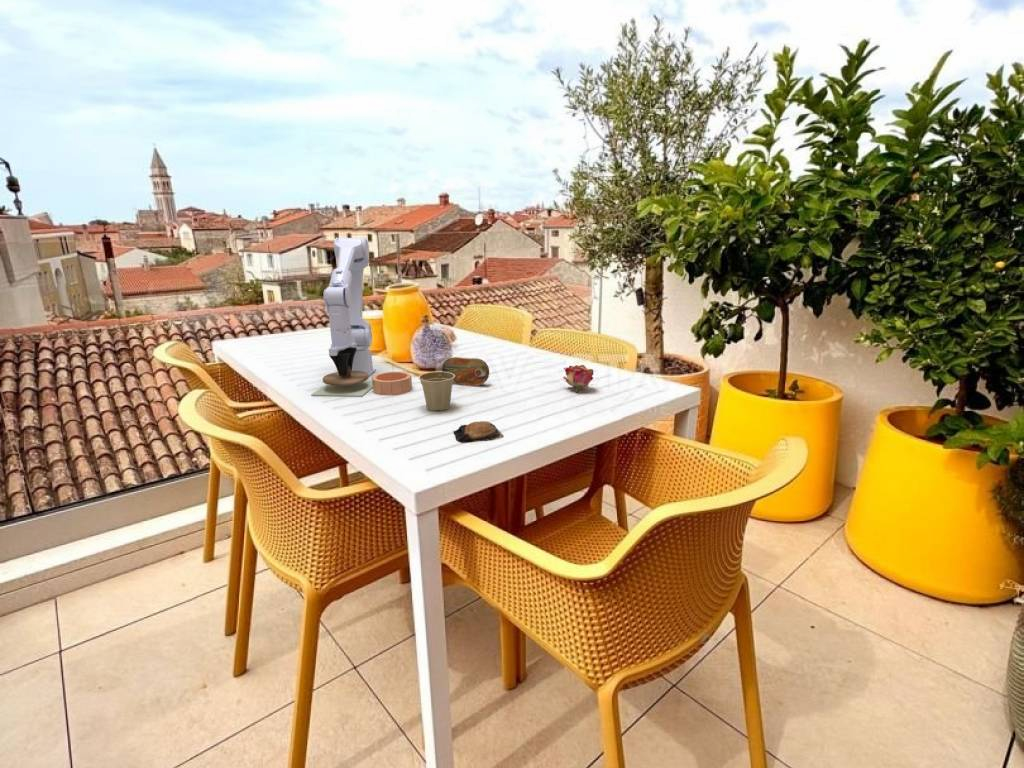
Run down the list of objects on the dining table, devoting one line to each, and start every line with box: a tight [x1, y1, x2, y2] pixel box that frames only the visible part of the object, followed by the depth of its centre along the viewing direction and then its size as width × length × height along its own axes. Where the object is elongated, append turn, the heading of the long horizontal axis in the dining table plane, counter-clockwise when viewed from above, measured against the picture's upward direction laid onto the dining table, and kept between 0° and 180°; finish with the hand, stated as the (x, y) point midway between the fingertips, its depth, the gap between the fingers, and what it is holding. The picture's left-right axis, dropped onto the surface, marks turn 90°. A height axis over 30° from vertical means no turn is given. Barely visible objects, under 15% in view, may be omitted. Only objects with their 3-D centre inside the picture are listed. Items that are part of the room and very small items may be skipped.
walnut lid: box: [322, 366, 370, 385], centre depth 147 cm, size 13×13×4 cm
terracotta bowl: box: [371, 371, 413, 396], centre depth 147 cm, size 11×11×4 cm
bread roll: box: [453, 420, 504, 444], centre depth 113 cm, size 11×8×4 cm
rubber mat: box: [310, 379, 373, 398], centre depth 148 cm, size 15×15×1 cm
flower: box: [562, 364, 594, 394], centre depth 145 cm, size 10×9×8 cm
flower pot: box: [418, 370, 455, 412], centre depth 131 cm, size 9×9×9 cm
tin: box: [441, 356, 490, 387], centre depth 151 cm, size 15×3×8 cm, turn 71°
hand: (345, 373), depth 147 cm, fingers closed on walnut lid, 3 cm apart
